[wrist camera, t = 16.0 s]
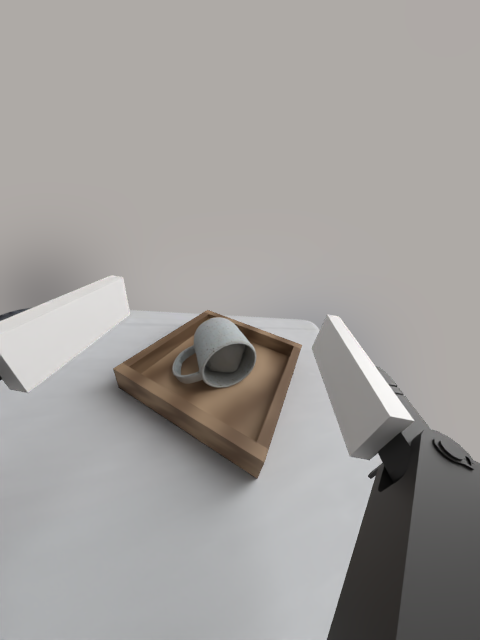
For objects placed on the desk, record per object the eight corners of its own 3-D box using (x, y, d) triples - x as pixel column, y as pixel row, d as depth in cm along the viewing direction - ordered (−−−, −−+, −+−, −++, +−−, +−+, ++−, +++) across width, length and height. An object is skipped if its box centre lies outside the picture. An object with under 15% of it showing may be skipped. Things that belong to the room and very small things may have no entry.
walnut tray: (118, 387, 24) (113, 368, 22) (206, 323, 40) (207, 309, 39) (257, 478, 18) (264, 462, 16) (296, 359, 34) (302, 345, 32)
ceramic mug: (232, 346, 33) (236, 308, 29) (252, 380, 27) (261, 339, 23) (170, 358, 29) (165, 316, 25) (177, 402, 23) (172, 355, 19)
